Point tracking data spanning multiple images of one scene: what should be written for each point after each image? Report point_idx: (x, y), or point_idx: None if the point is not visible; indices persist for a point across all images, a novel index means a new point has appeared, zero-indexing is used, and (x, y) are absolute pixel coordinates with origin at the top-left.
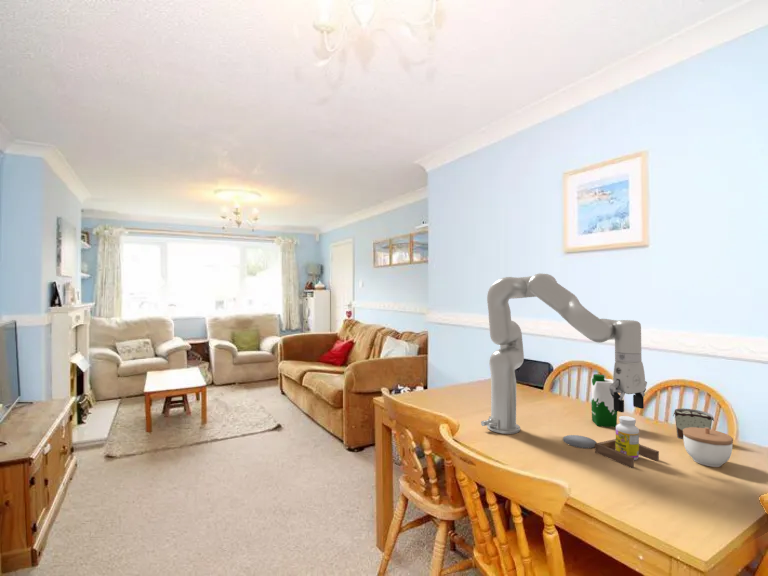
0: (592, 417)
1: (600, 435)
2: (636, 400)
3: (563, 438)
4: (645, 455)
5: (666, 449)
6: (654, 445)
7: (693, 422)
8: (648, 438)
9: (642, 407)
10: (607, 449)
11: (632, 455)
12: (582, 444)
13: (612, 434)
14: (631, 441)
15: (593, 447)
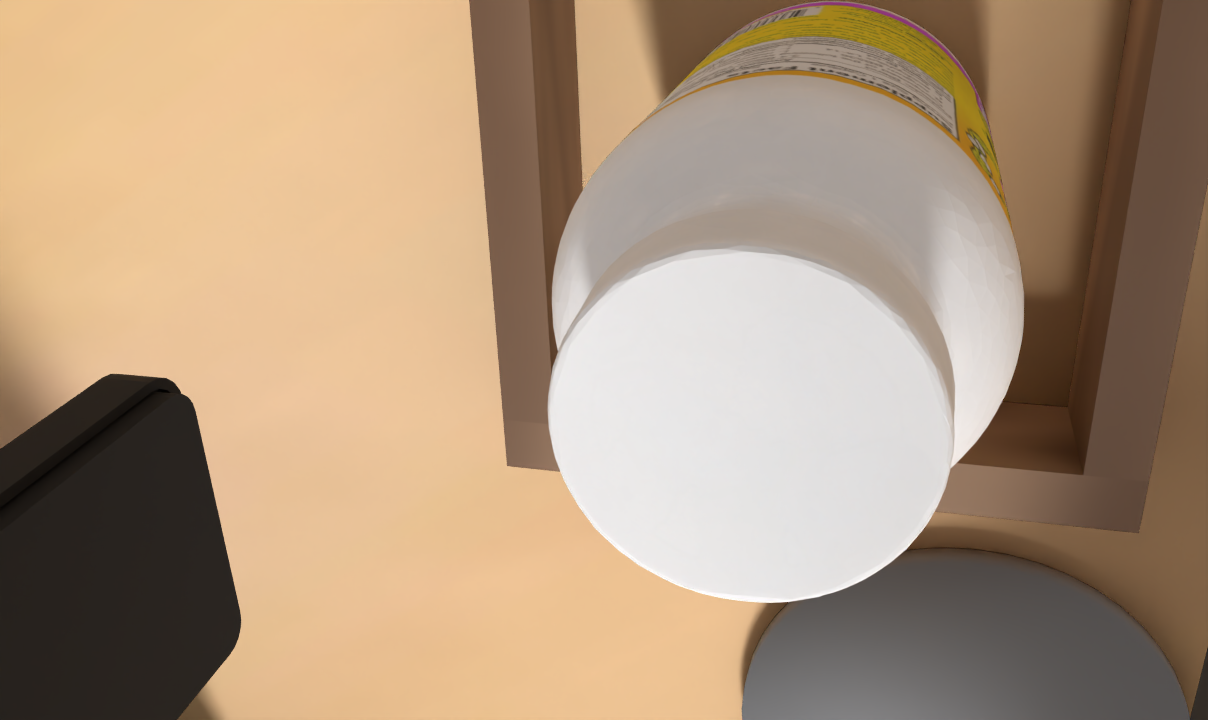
0: None
1: (485, 701)
2: (79, 699)
3: None
4: (570, 31)
5: (74, 73)
6: (116, 224)
7: None
8: (15, 385)
9: (144, 393)
10: (1177, 312)
11: (910, 28)
12: (1056, 665)
13: (322, 647)
14: (926, 86)
15: (970, 552)
